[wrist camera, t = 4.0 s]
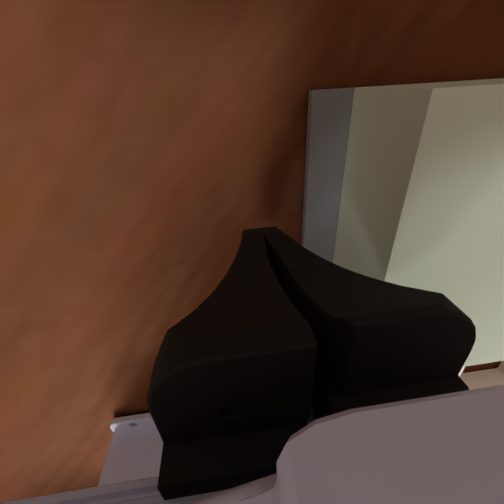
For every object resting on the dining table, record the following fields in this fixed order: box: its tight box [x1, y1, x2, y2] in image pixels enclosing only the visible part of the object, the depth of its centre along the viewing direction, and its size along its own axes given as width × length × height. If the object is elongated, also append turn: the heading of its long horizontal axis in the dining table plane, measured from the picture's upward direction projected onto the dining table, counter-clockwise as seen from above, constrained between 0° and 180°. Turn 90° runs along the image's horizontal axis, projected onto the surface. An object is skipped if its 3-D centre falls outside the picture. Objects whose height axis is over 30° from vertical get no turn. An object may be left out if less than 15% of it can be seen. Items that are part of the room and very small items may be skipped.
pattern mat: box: [301, 78, 500, 263], centre depth 13 cm, size 12×11×1 cm
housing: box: [333, 78, 504, 367], centre depth 11 cm, size 9×11×4 cm
